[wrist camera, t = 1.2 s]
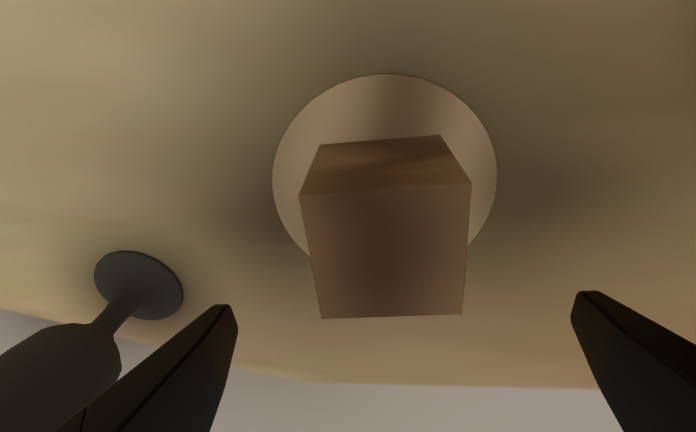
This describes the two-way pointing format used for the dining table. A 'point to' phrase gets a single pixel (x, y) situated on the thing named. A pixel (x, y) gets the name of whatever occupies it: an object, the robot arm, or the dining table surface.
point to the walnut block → (387, 227)
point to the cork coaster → (382, 137)
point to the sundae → (82, 347)
